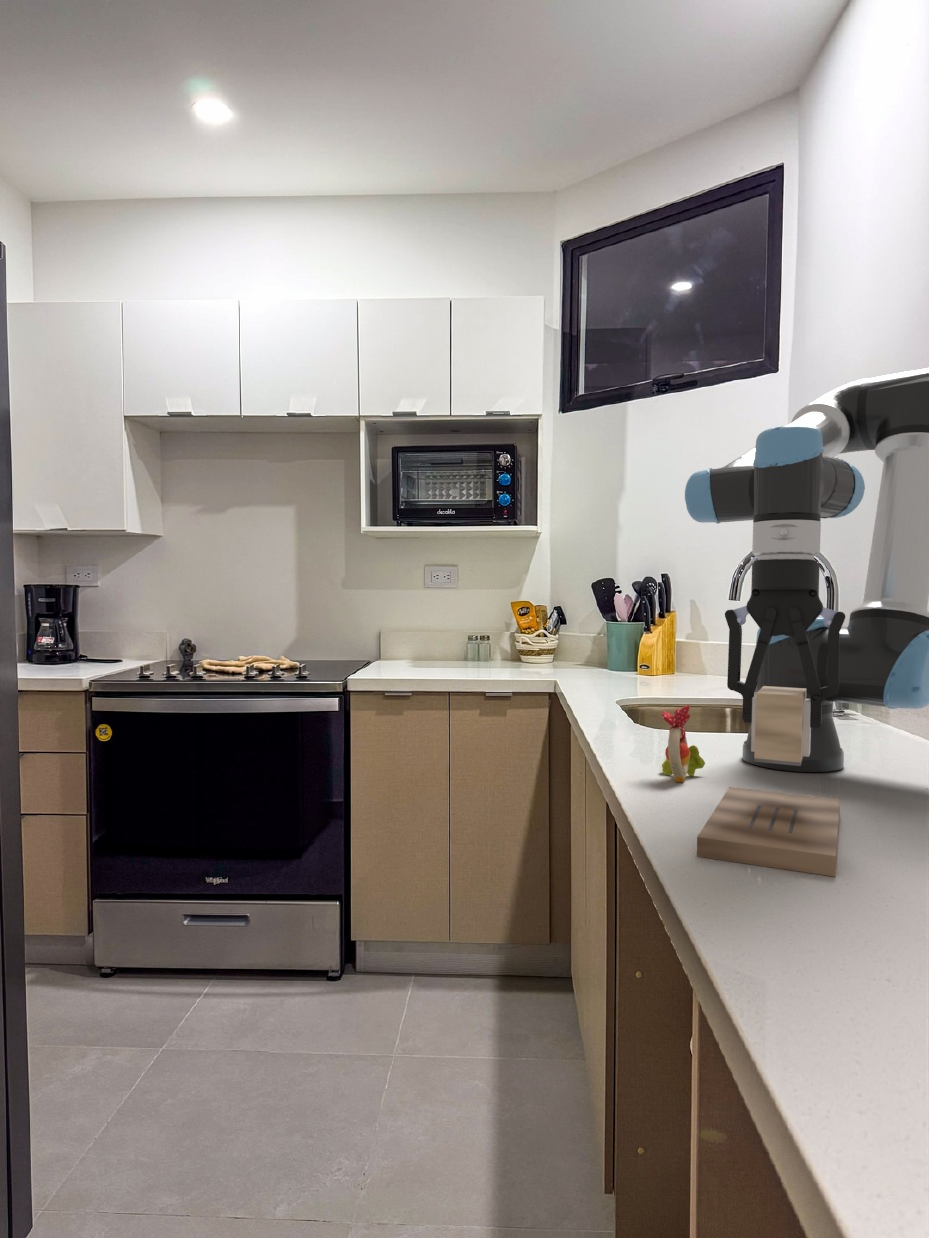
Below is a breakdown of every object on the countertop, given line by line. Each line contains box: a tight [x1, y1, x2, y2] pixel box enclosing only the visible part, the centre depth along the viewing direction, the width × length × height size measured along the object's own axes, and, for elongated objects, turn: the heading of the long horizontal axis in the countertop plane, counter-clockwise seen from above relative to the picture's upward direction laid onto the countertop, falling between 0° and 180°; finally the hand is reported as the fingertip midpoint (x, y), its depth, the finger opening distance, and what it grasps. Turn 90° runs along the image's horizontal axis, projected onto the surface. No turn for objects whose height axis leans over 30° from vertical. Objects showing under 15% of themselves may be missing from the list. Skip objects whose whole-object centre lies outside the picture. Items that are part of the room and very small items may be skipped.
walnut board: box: [696, 786, 841, 878], centre depth 90 cm, size 24×13×2 cm, turn 154°
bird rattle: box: [660, 704, 706, 783], centre depth 117 cm, size 6×11×9 cm
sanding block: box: [754, 686, 806, 766], centre depth 96 cm, size 9×5×8 cm, turn 154°
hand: (780, 751), depth 96 cm, fingers closed on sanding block, 5 cm apart
